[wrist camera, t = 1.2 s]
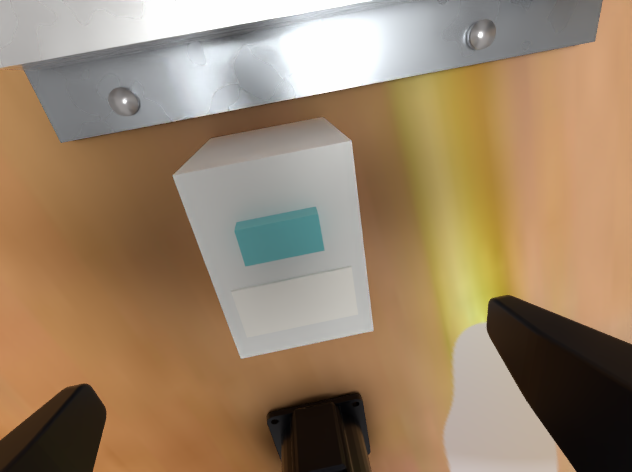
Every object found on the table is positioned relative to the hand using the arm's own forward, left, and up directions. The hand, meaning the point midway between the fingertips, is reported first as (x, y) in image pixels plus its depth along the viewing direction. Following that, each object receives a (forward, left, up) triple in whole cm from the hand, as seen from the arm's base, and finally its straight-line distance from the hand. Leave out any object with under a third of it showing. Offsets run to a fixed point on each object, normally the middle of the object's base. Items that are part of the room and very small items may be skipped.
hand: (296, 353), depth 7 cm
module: (0, 0, -10) cm, 10 cm away
